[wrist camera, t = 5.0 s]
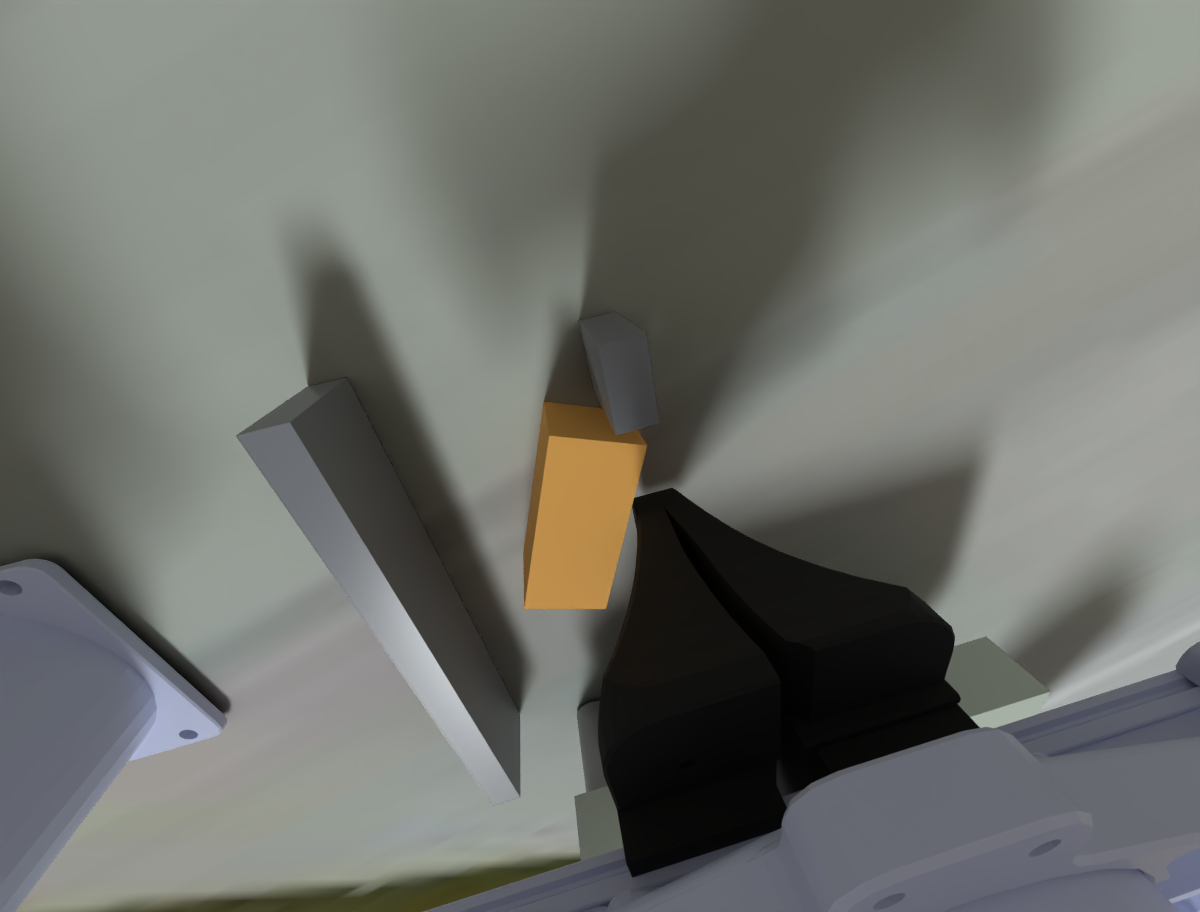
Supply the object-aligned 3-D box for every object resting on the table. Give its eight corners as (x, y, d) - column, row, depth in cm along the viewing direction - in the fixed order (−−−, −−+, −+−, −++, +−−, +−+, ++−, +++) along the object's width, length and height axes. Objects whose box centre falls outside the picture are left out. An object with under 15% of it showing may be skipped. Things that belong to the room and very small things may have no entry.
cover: (552, 669, 17) (567, 863, 11) (903, 567, 17) (1066, 704, 12) (589, 760, 20) (615, 942, 15) (883, 670, 21) (1004, 813, 16)
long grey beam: (496, 721, 18) (492, 805, 15) (306, 386, 10) (236, 435, 8) (678, 667, 18) (706, 740, 15) (615, 311, 11) (646, 333, 8)
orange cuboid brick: (523, 553, 14) (524, 608, 12) (543, 400, 12) (549, 435, 10) (593, 555, 15) (605, 608, 12) (625, 411, 12) (647, 445, 10)
